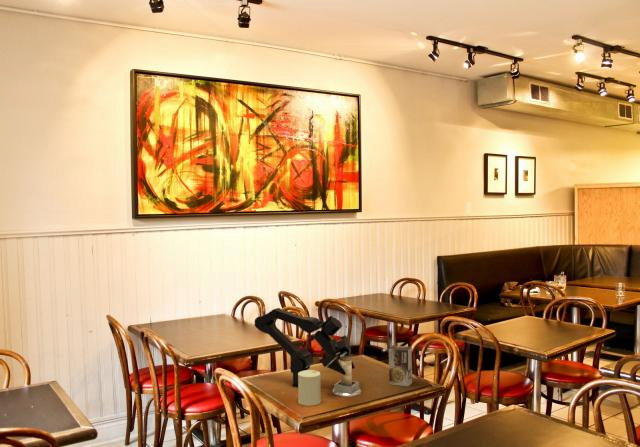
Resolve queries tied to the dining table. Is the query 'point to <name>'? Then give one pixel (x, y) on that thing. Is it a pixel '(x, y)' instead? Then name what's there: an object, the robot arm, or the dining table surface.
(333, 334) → the robot arm
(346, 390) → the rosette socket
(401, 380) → the coffee box
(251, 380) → the dining table surface
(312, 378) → the can
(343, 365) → the cream tall cylinder
